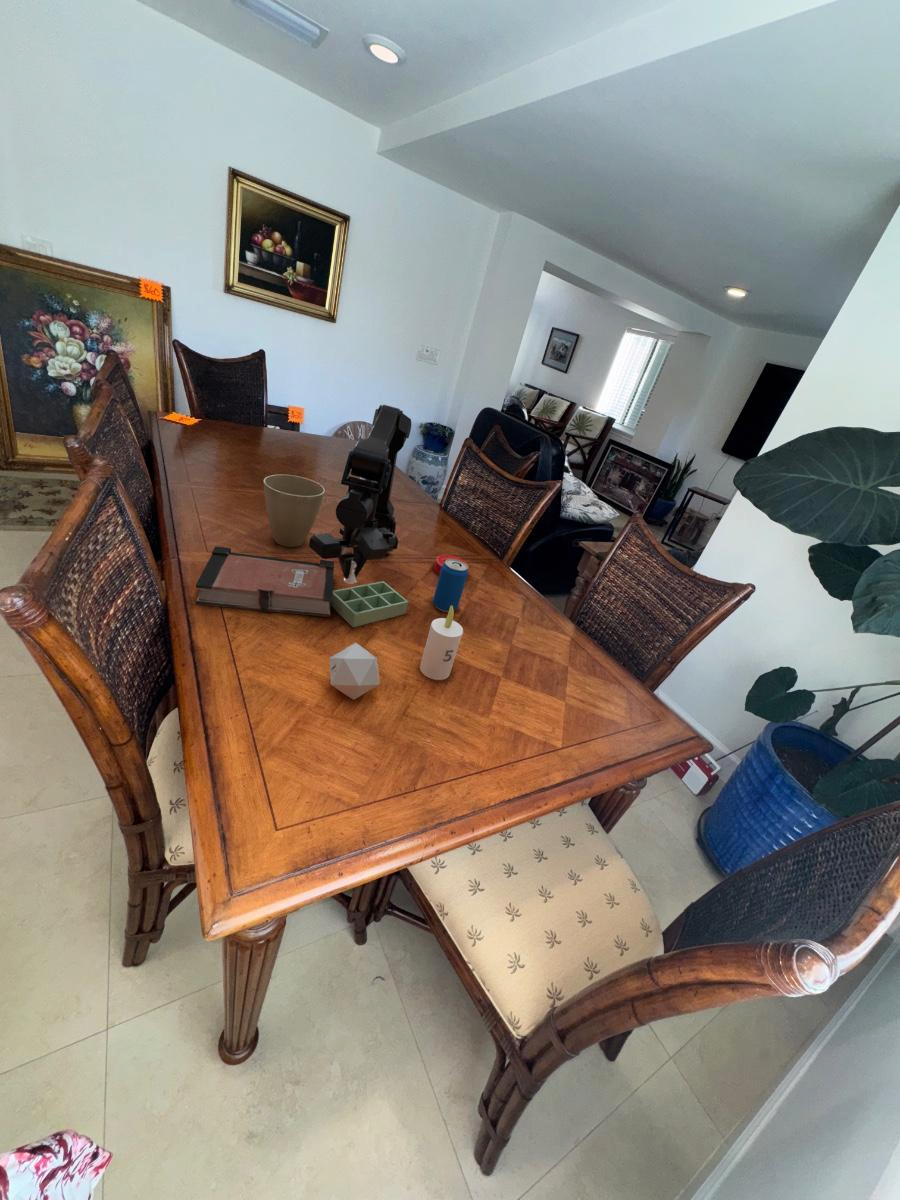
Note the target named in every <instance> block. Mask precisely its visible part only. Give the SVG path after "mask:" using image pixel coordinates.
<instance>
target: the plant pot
mask: <svg viewBox="0 0 900 1200" xmlns="http://www.w3.org/2000/svg"><path fill="white" fill-rule="evenodd" d="M263 490H264V491H263V492H264V503H265V509H266V513H267V519H268V522H269V527H270V531H271V533H272V536H273V539H274V541H275V543H276V544H278V545H280V546H282V547H287V548H297V547H300V546H302V545H303V544H304V542H305V541H306V539H307V537H308V535H309V534H310V532H311V530H312V528H313V526H314V524H315V521H316V519H317V516H318V514H319V512H320V508H321V507H322V506H321V505H322V502H323V498H324V495H325V493H326V489H325V488H324V486H323V485H322V484H321V483H319V482H317V481H314V480H313V479H309V478H306V477H302V476H300V475H299V476H298V475H294V474H293V475H292V474H283V473H282V474H272V475H271V474H270V475H268V476H266V477H264V478H263Z"/></svg>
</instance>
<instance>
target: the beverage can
mask: <svg viewBox="0 0 900 1200" xmlns="http://www.w3.org/2000/svg"><path fill="white" fill-rule="evenodd" d="M468 566H469V565H468ZM468 566H467V565H466V564H465V563H464V562H462V561H460V560H456V559H447V560H446V561H445V563H444V564H443V565H442V567H441V571H440V575H438V579H437V583H436V587H435V590H434V595H433V597H432V598H433V599H432V604H433V606H434V607H435V608H436V609H437V610H439V611H441V612H444V613H448V612H449V609H450V606H451V605H452V606H453V610H454V612H455V611H456V610H458V608H459V605H460V602H461V598H462V595H463V591H464V588H465V586H466V585H465V584H466V581H467V577H468V574H469V569H468V570H467V568H468Z"/></svg>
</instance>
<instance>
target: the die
mask: <svg viewBox="0 0 900 1200" xmlns="http://www.w3.org/2000/svg"><path fill="white" fill-rule="evenodd" d="M329 676H330V677H329V678H330V679H329V681H330V685H331V686H332V687H333V688H334V689H336V690H338V691H339V692H340V693H342V694H344V695H345V696H347V697H348V698H350V699H351V700H352V701H355V700H356V699H358V698H359V697H361V696H363V695H365V694H366V693H367V692H369V691H371V690H373V689H375V688H376V687H378V686H380V685H381V682H380V681H381V680H380V672H379V664H378V658H377V657H376V656H374V655H373V654H372V653H371V652H369V651H368V650H367V649H365V648H364V647H363V646H361V645H360V644H358V643H357V642H353V644H351V645H349V646H348V647H346V648H344V649H342V650H341V651H339V652H338V653H335V654H333V655H331V656H330V657H329Z"/></svg>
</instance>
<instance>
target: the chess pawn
mask: <svg viewBox="0 0 900 1200" xmlns="http://www.w3.org/2000/svg"><path fill="white" fill-rule="evenodd" d="M356 566H357V564H356V562H355V561H353V560H352V562H351V568H350V574H349V577H348V579H346V578H345V577H343V582H344V583H346V584H348V585H354V584H357V582H358V580H357V577H355V574H354V571H355V568H356Z"/></svg>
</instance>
